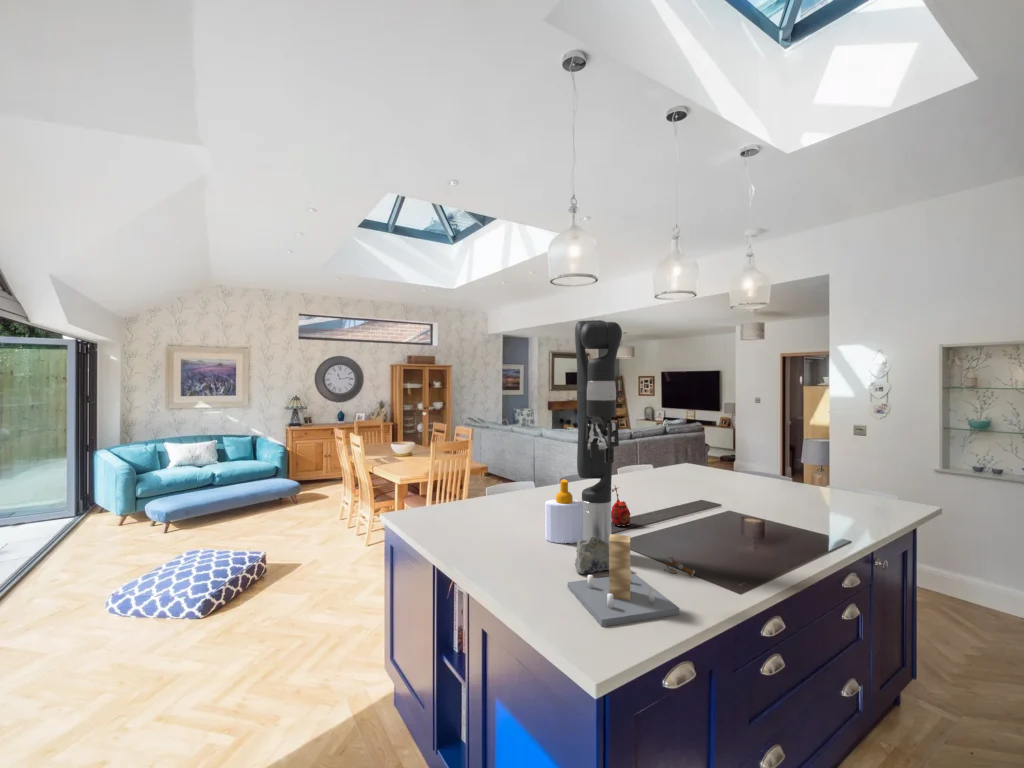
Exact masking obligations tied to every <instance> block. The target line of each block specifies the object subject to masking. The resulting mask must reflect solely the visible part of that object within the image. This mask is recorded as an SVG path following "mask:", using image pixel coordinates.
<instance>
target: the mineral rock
mask: <svg viewBox="0 0 1024 768" xmlns="http://www.w3.org/2000/svg"><path fill="white" fill-rule="evenodd" d="M575 551H576V558H575V563H574V566H575V568H576V569H575V570H576V573H578V574H581V575H585V574H589V573H590V574H593V573H595V572H602V571H607V570H608V571H609V544H608V543H607V542H605V541H602V540H601V539H599V538H597V537H595V536H593V537H591V538H590V539H588V540H578V542H577V543H576V550H575Z"/></svg>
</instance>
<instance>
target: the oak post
mask: <svg viewBox="0 0 1024 768" xmlns="http://www.w3.org/2000/svg"><path fill="white" fill-rule="evenodd" d="M630 571H631V535H625V534H612V533H611V534H610V538H609V570H608V577H609V593H611V594H613V598H617V599H625V600H630Z"/></svg>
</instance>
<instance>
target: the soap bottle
mask: <svg viewBox="0 0 1024 768" xmlns="http://www.w3.org/2000/svg"><path fill="white" fill-rule="evenodd" d="M559 485H560V486H559V487H560V488H559V489H560V491H559V492H557V493H556V496H555V499H550V500H546V501H545V503H544V506H545V507H544V510H545V512H544V515H545V516H544V518H545V519H544V520H545V521H544V524H545V525H544V527H545V528H544V529H545V530H544V531H545V532H544V534H545V535H544V538H545V540H546V541H547V542H551V543H554V542H555V544H564V543H565V544H566V543H570V544H577V542H578V540H582V500H581V501H580V500H576V499H573V495H572V493H571V492H570V491H569V481H568V480H567V479H565V478H563V479H561V480H560V483H559ZM566 545H567V544H566Z"/></svg>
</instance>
